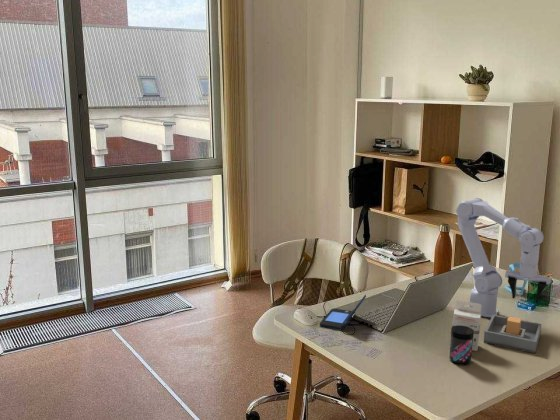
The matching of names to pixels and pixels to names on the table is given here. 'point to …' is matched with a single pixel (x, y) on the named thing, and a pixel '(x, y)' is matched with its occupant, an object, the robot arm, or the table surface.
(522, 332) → the socket
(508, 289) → the chair
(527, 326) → the walled box
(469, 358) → the supplement container
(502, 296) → the table surface
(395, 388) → the table surface
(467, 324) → the ink box
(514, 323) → the orange brown rectangular block
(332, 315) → the black screen device
